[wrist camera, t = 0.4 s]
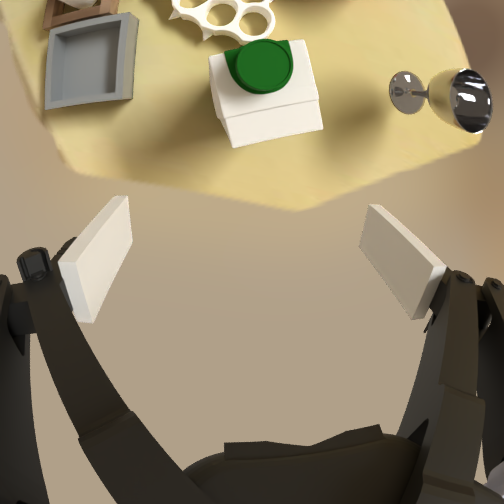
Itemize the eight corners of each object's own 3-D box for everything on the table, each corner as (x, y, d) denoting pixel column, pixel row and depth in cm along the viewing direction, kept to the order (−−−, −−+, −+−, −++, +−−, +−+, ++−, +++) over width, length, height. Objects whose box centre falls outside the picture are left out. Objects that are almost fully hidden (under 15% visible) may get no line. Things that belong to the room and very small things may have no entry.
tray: (64, 33, 27) (50, 29, 23) (139, 19, 29) (129, 12, 25) (60, 107, 33) (44, 110, 29) (132, 98, 34) (122, 99, 30)
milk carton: (274, 58, 34) (317, 26, 16) (288, 119, 38) (341, 140, 21) (209, 72, 34) (195, 48, 17) (226, 134, 38) (226, 165, 21)
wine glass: (395, 122, 39) (459, 140, 26) (380, 74, 35) (443, 73, 22) (432, 110, 38) (497, 126, 25) (418, 64, 34) (484, 65, 21)
